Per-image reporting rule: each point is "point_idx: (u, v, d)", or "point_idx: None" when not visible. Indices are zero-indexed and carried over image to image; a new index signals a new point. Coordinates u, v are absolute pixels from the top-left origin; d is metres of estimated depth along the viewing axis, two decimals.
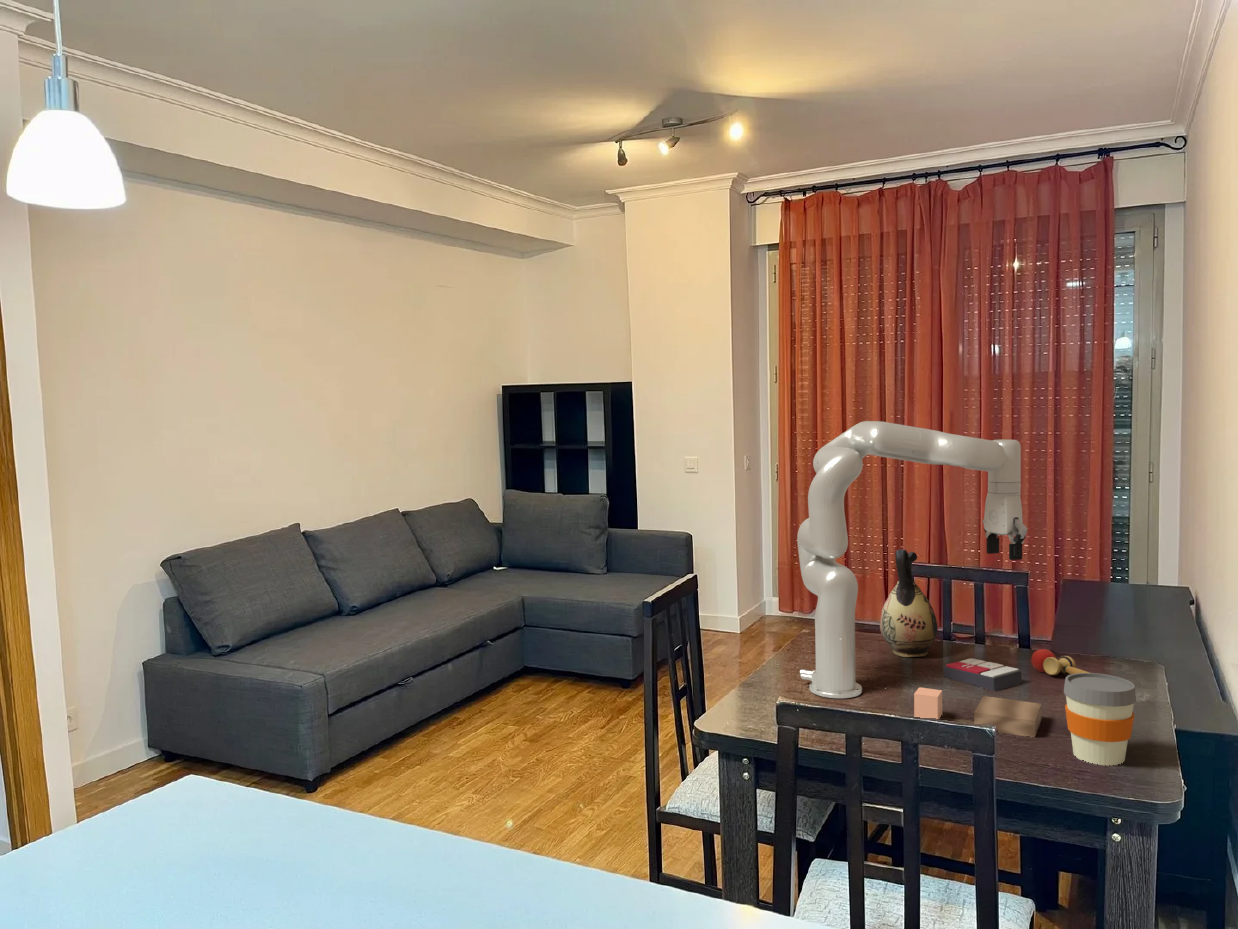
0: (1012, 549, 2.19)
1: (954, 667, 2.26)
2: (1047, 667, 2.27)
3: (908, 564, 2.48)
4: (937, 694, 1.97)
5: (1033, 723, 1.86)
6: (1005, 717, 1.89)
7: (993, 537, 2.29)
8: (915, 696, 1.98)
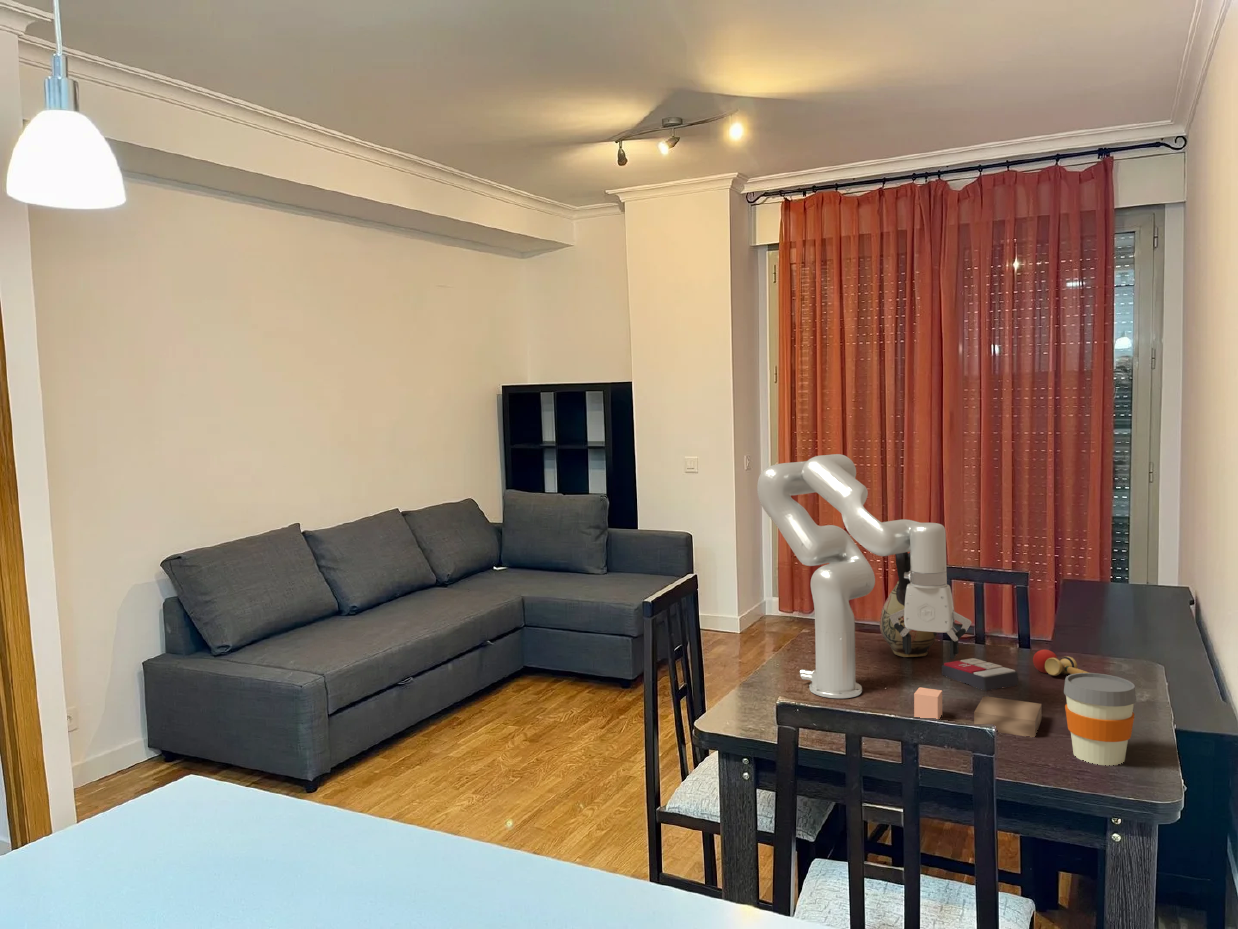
0: (953, 647, 1.94)
1: (951, 666, 2.28)
2: (1048, 667, 2.26)
3: (908, 564, 2.48)
4: (937, 694, 1.97)
5: (1033, 723, 1.86)
6: (1005, 717, 1.89)
7: (908, 634, 2.00)
8: (915, 696, 1.98)
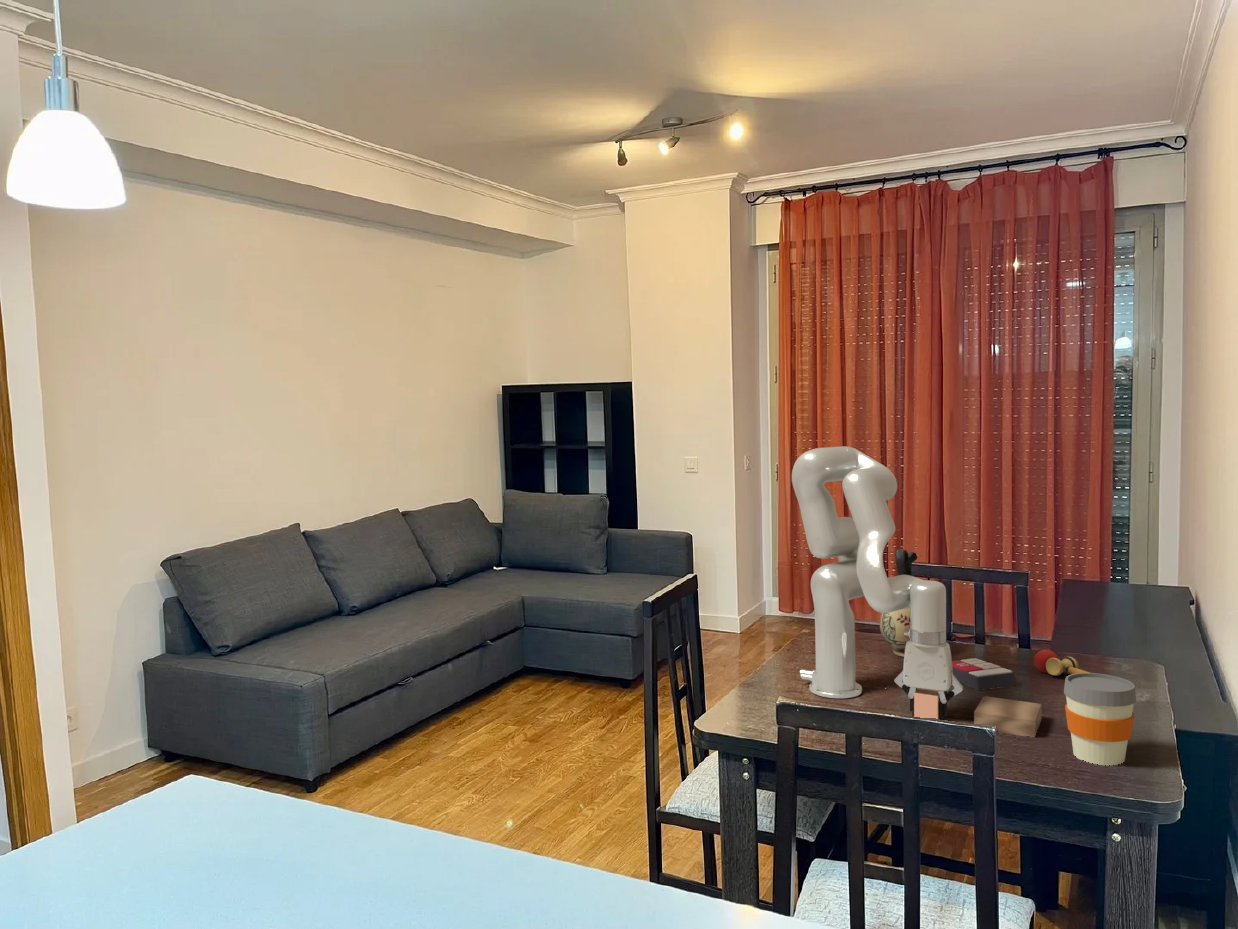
0: (942, 708, 1.97)
1: None
2: (1050, 668, 2.26)
3: (908, 564, 2.48)
4: (937, 694, 1.97)
5: (1033, 723, 1.86)
6: (1005, 717, 1.89)
7: None
8: (915, 696, 1.98)
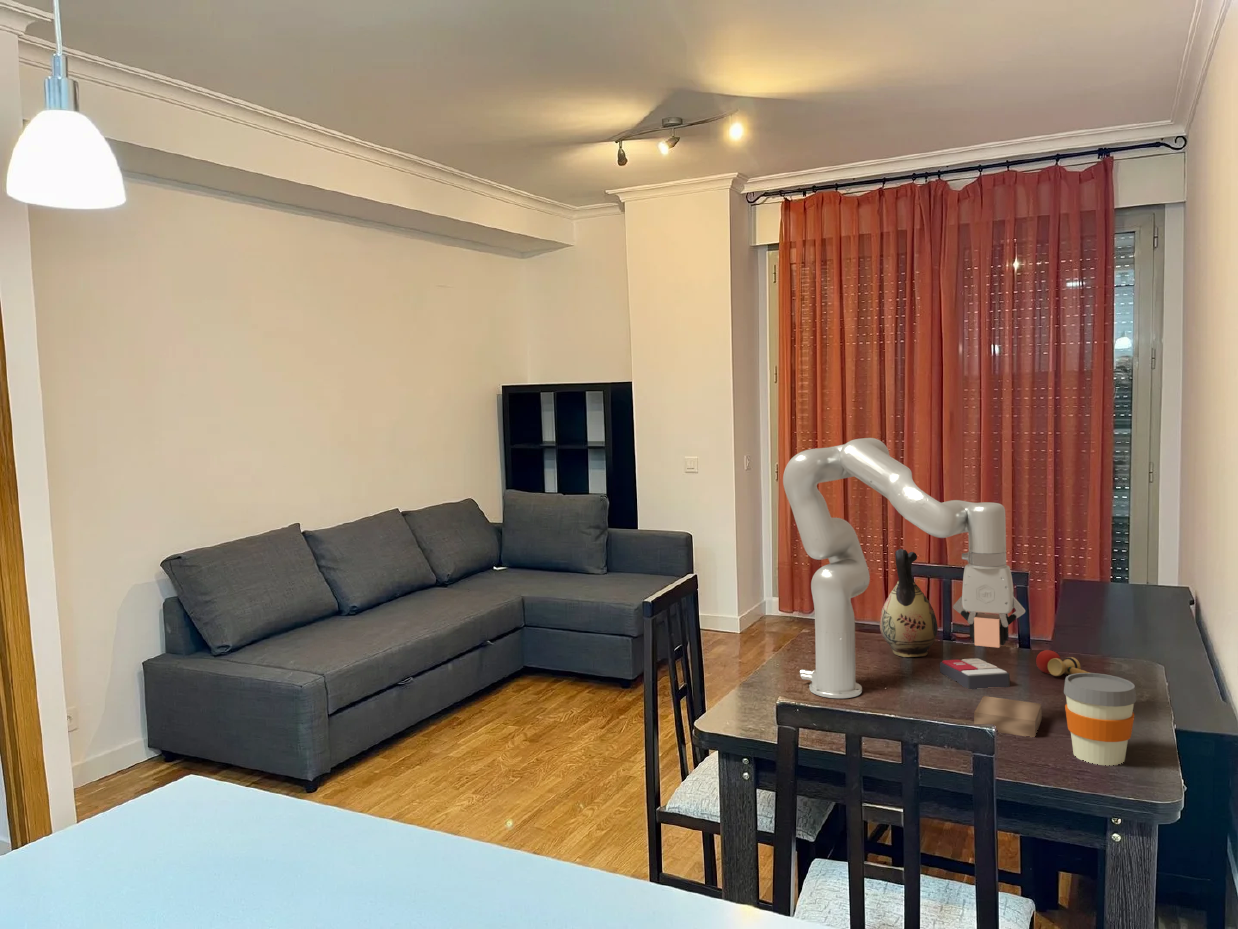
0: (1003, 632, 1.92)
1: (946, 663, 2.30)
2: (1051, 668, 2.26)
3: (908, 564, 2.48)
4: (998, 618, 1.92)
5: (1033, 723, 1.86)
6: (1005, 717, 1.89)
7: None
8: (975, 620, 1.93)
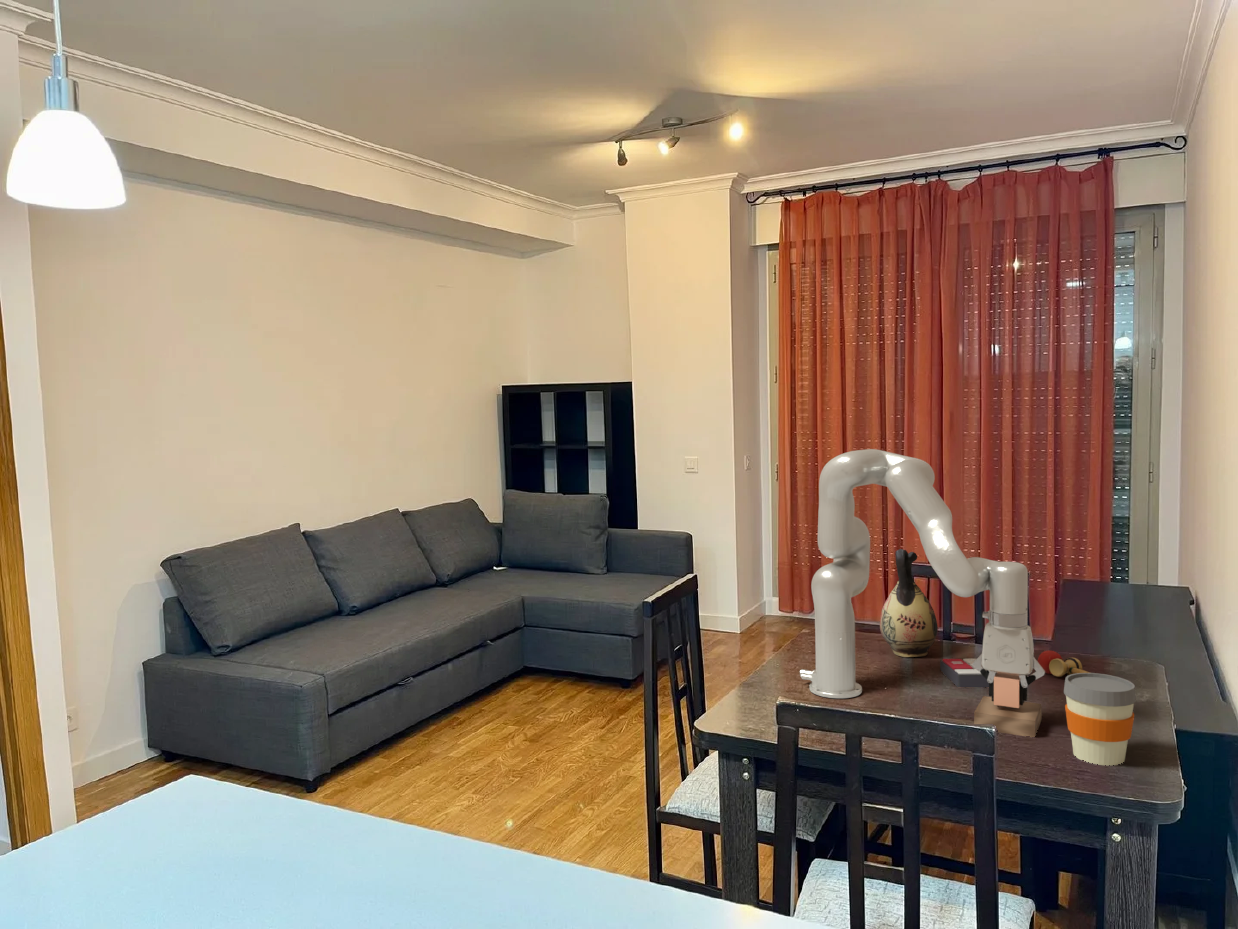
0: (1022, 693, 1.92)
1: (945, 662, 2.31)
2: (1053, 668, 2.25)
3: (908, 564, 2.48)
4: (1018, 678, 1.92)
5: (1033, 723, 1.86)
6: (1005, 717, 1.89)
7: None
8: (995, 680, 1.93)
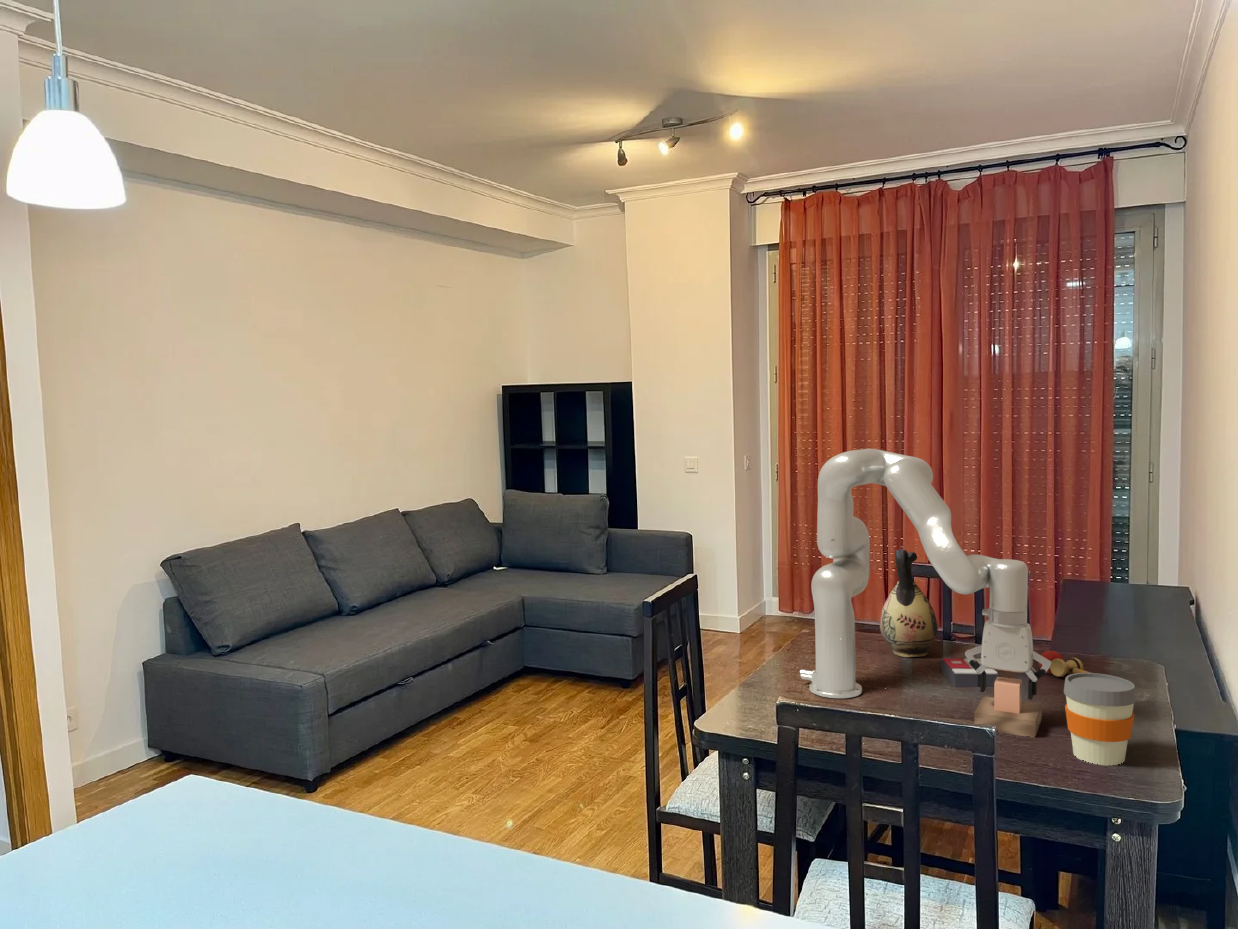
0: (1032, 687, 1.91)
1: (945, 661, 2.32)
2: (1054, 669, 2.25)
3: (908, 564, 2.48)
4: (1018, 683, 1.92)
5: (1033, 723, 1.86)
6: (1005, 717, 1.89)
7: (984, 672, 1.97)
8: (995, 685, 1.93)
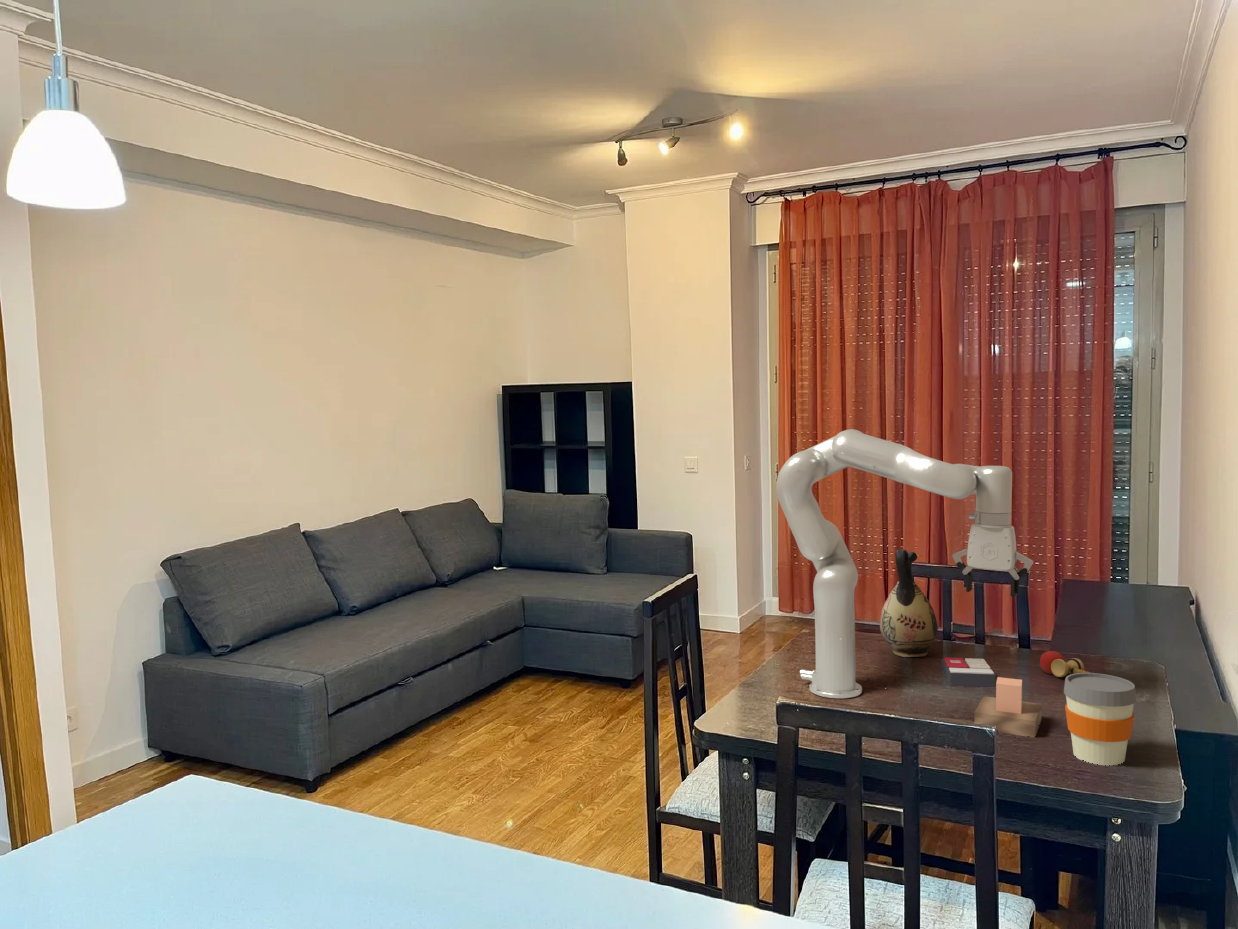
0: (1014, 585, 2.02)
1: (944, 660, 2.32)
2: (1055, 669, 2.25)
3: (908, 564, 2.48)
4: (1019, 683, 1.92)
5: (1033, 723, 1.86)
6: (1005, 717, 1.89)
7: (970, 573, 2.08)
8: (997, 686, 1.92)
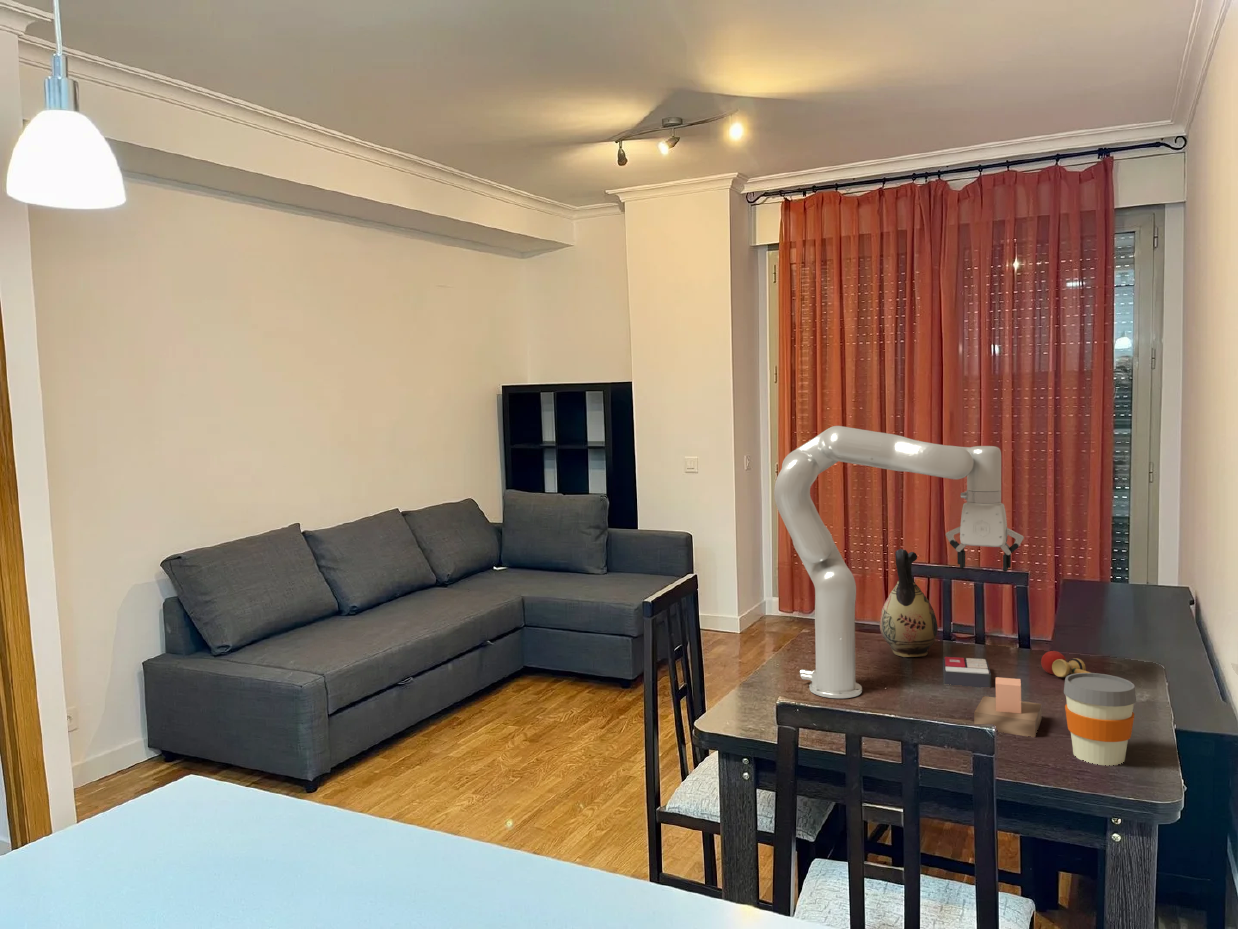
0: (1006, 560, 2.09)
1: (945, 659, 2.33)
2: (1056, 669, 2.25)
3: (908, 564, 2.48)
4: (1018, 683, 1.92)
5: (1033, 723, 1.87)
6: (1005, 717, 1.89)
7: (963, 550, 2.15)
8: (997, 686, 1.92)
